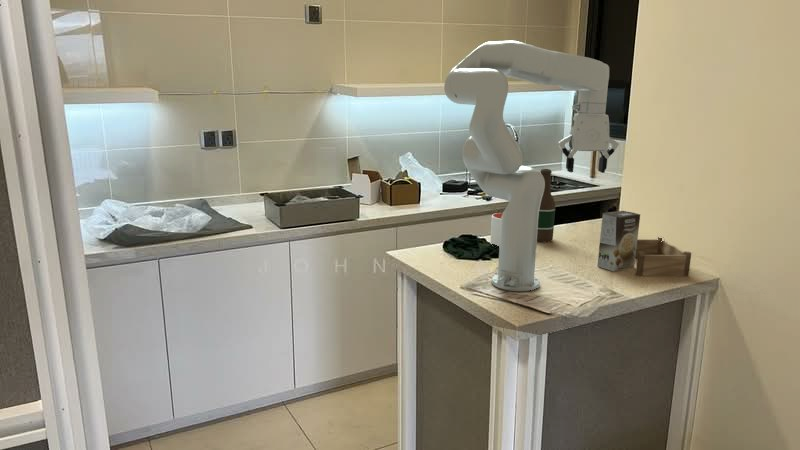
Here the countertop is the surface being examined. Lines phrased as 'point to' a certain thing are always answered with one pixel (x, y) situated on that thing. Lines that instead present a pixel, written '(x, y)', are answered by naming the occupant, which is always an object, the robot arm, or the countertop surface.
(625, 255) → the coffee box
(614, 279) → the countertop surface
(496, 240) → the cup
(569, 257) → the countertop surface
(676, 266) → the crate
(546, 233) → the beer bottle
